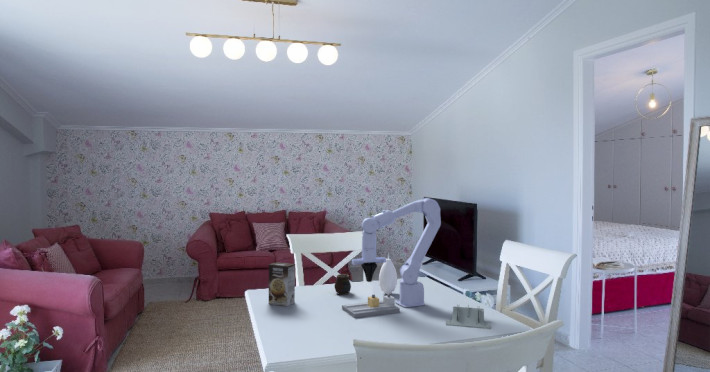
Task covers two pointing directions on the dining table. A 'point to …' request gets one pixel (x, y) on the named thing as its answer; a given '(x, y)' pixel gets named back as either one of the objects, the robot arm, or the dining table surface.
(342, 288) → the mate gourd
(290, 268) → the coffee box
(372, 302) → the slider
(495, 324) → the dining table surface
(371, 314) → the gauge plate
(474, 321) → the metal bracket
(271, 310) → the dining table surface
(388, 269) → the white air blower bulb
